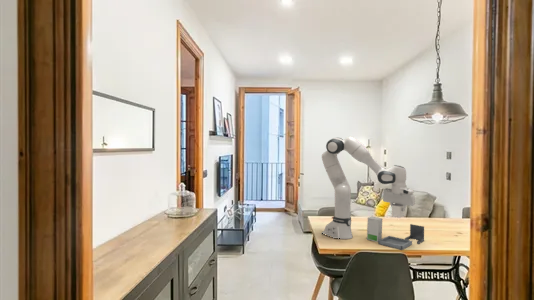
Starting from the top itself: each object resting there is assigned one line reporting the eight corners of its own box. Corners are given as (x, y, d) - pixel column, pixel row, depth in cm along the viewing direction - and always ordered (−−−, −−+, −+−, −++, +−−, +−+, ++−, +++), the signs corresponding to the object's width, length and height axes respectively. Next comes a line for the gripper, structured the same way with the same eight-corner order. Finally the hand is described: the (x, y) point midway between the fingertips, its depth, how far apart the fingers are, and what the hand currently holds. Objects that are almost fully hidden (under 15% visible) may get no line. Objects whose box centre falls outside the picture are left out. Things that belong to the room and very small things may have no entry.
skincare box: (366, 239, 210) (366, 217, 210) (371, 237, 215) (371, 215, 215) (378, 242, 205) (378, 219, 204) (382, 240, 209) (382, 217, 209)
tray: (378, 244, 201) (378, 240, 201) (388, 239, 211) (388, 235, 211) (402, 250, 189) (402, 246, 189) (412, 244, 200) (412, 240, 200)
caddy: (391, 216, 201) (391, 204, 200) (396, 214, 206) (396, 203, 206) (399, 217, 197) (399, 205, 197) (404, 216, 203) (404, 204, 202)
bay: (404, 241, 207) (404, 226, 207) (410, 238, 214) (410, 224, 214) (418, 244, 201) (418, 229, 200) (424, 241, 208) (424, 226, 208)
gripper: (381, 188, 207) (380, 208, 207) (412, 192, 192) (411, 213, 192) (385, 187, 211) (385, 207, 211) (416, 191, 196) (415, 212, 196)
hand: (398, 210), depth 202 cm, fingers closed on caddy, 5 cm apart
